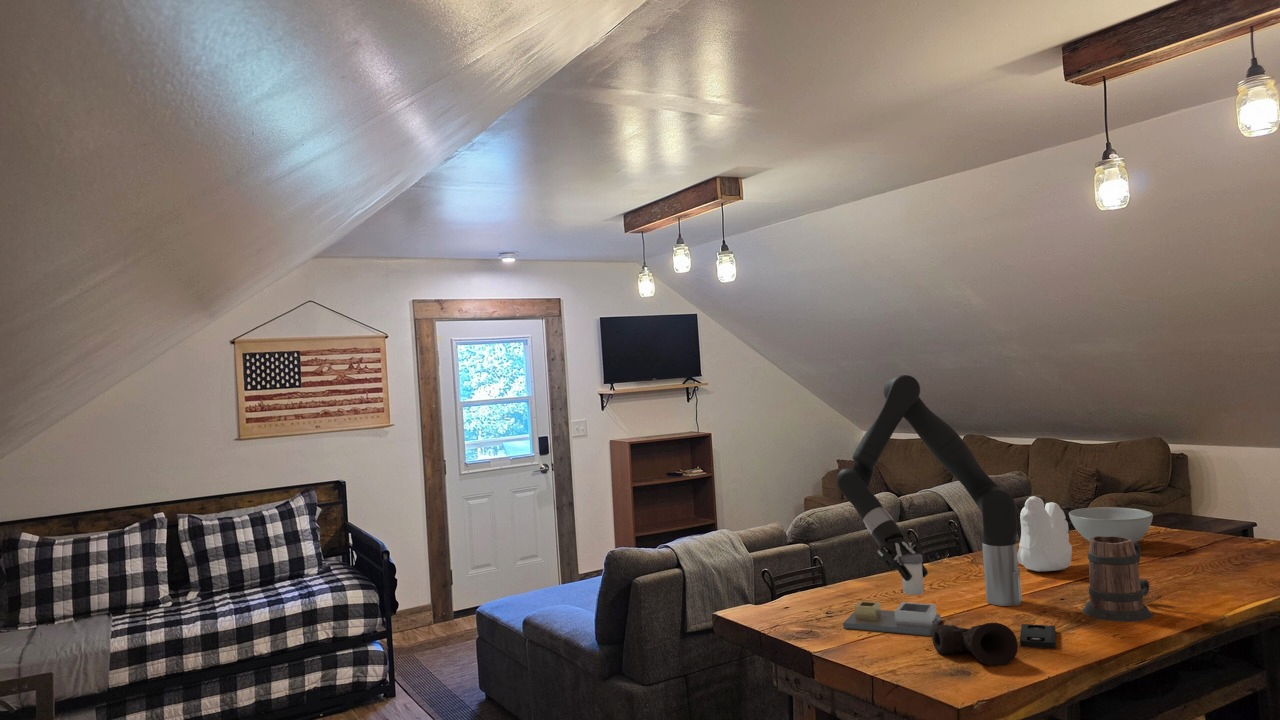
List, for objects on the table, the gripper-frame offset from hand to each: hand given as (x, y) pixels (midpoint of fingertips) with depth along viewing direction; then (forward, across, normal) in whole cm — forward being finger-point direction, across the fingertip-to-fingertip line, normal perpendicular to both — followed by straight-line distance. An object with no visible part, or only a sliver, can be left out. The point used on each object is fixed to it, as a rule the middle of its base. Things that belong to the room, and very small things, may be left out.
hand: (917, 577), depth 227 cm
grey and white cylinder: (+2, 0, +4) cm, 5 cm away
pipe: (+27, -7, -7) cm, 28 cm away
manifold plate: (+5, -3, +15) cm, 16 cm away
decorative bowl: (-7, +122, +26) cm, 125 cm away
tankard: (+26, +52, -7) cm, 58 cm away
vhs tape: (+28, +14, -8) cm, 32 cm away
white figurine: (-3, +79, +22) cm, 82 cm away
